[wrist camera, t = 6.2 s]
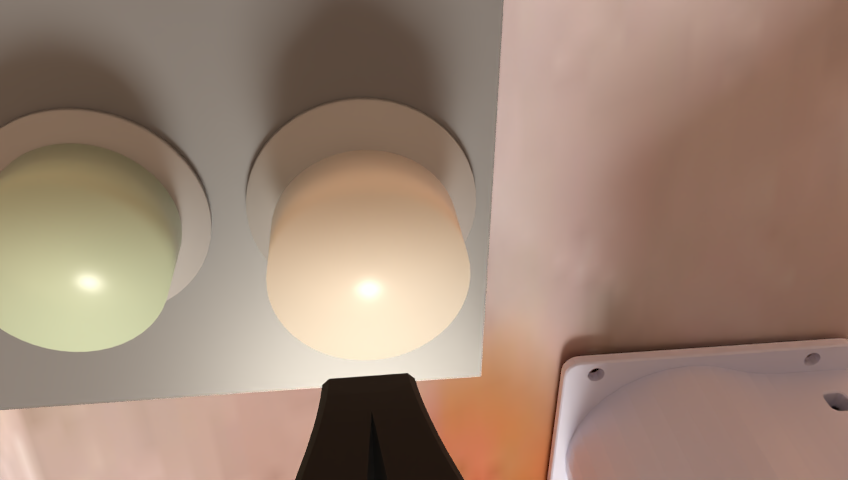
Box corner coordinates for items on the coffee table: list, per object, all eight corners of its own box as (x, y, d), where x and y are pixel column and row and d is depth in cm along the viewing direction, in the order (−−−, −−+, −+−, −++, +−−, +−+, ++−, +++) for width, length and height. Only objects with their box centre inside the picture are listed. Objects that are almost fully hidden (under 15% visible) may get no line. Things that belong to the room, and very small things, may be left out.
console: (484, -74, 18) (508, -45, 16) (466, 319, 24) (482, 381, 21) (-402, -60, 16) (-520, -26, 14) (-185, 360, 22) (-242, 432, 20)
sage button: (165, 139, 17) (150, 180, 15) (194, 295, 19) (183, 345, 17) (-38, 147, 16) (-74, 190, 15) (14, 306, 18) (-13, 357, 17)
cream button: (460, 145, 16) (474, 187, 15) (454, 303, 19) (466, 353, 17) (261, 153, 16) (255, 198, 15) (279, 313, 18) (275, 366, 17)
